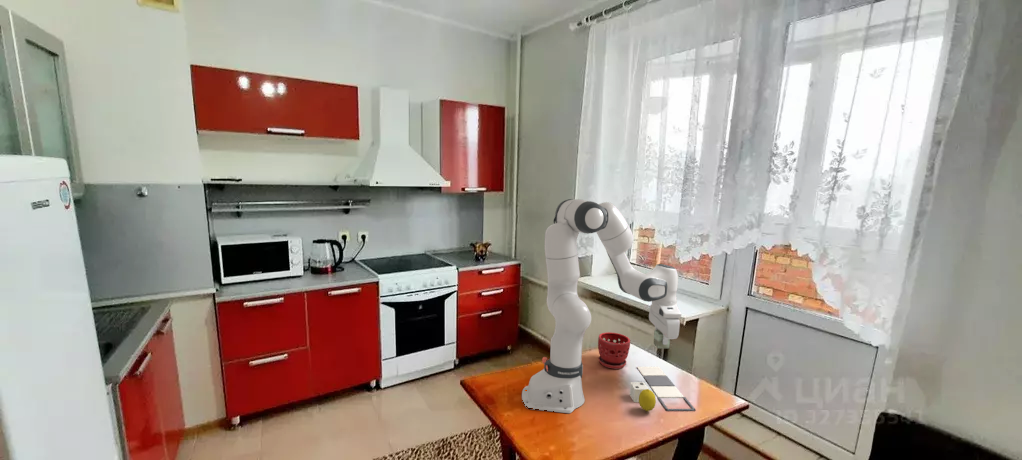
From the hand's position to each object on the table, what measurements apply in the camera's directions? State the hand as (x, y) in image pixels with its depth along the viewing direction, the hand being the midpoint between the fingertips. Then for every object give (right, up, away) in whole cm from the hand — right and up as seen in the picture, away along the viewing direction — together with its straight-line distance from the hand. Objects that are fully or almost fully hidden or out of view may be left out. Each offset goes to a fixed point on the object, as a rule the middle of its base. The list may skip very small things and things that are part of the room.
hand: (661, 340), depth 157 cm
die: (-12, -18, -10) cm, 24 cm away
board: (0, -17, -2) cm, 17 cm away
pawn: (0, -2, 0) cm, 2 cm away
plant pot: (-15, -15, +17) cm, 27 cm away
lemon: (-12, -19, -18) cm, 29 cm away
